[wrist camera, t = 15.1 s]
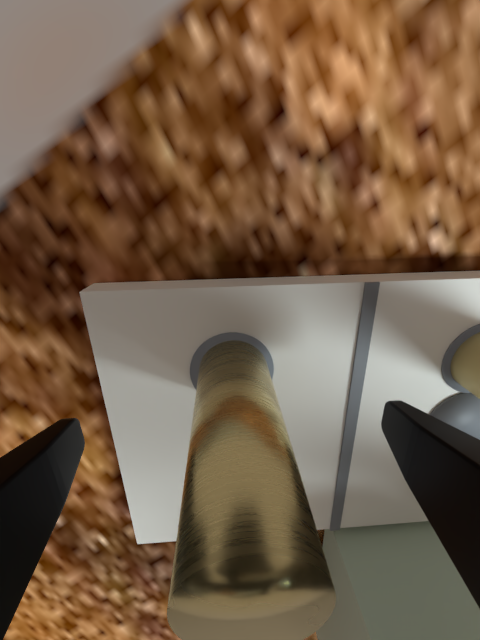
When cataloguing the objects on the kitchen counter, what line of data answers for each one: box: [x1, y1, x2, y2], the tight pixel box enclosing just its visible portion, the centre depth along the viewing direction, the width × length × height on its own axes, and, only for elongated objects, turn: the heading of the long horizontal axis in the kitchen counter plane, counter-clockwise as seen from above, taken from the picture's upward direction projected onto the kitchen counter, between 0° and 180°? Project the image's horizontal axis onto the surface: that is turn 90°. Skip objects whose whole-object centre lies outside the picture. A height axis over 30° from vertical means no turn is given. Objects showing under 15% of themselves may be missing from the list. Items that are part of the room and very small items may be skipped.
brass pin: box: [167, 340, 336, 640], centre depth 8 cm, size 3×3×7 cm
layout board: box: [79, 271, 480, 544], centre depth 10 cm, size 20×13×8 cm, turn 91°
